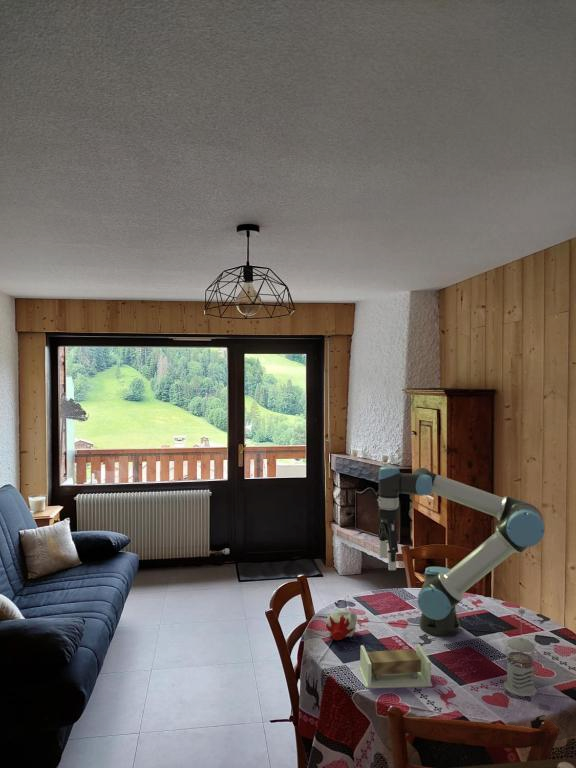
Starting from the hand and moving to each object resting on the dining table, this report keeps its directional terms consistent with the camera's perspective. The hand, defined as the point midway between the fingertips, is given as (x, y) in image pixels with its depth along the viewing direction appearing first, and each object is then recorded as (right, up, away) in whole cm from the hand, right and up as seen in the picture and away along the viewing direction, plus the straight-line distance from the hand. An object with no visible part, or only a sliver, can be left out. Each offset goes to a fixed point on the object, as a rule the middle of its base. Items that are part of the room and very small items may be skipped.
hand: (387, 563), depth 209 cm
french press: (+36, -28, -35) cm, 58 cm away
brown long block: (-4, -24, -30) cm, 39 cm away
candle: (-18, -27, -3) cm, 33 cm away
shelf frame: (-3, -27, -30) cm, 40 cm away
